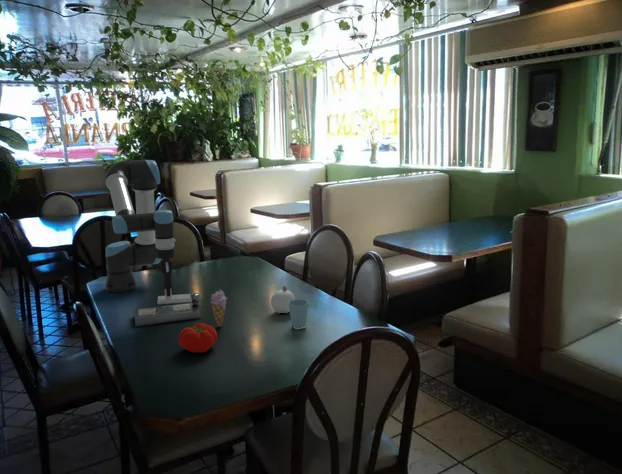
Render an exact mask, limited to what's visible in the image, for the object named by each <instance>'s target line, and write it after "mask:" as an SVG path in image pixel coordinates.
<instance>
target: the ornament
mask: <svg viewBox="0 0 622 474" xmlns="http://www.w3.org/2000/svg"><path fill="white" fill-rule="evenodd" d="M295 299H296V297H295V295H294V293H293V292H292V291H290V290H288V289H287V286H286V285H283V286H282V288H281V289H278V290H276V291H275V292H274V293H273V294H272V296H271V299H270V305H271V308H272V310H273V311H275V312H276V313H278V314H280V313H286V314H289V313H290V309H289V301H291V300H295ZM288 312H289V313H288Z"/></svg>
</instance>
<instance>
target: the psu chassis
mask: <svg viewBox="0 0 622 474" xmlns="http://www.w3.org/2000/svg"><path fill="white" fill-rule="evenodd" d="M201 318H202V312H201V308H200V300H199V301H192V302H186V303H177V304H173V305H172V304H171V305H164V306H153V307H145V308H138V309H134V324H135V327H140V326H149V325H155V324H163V323H171V322H179V321H187V320H193V319H201Z"/></svg>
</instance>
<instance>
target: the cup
mask: <svg viewBox="0 0 622 474" xmlns="http://www.w3.org/2000/svg"><path fill="white" fill-rule="evenodd" d="M308 307H309V301H308V300H306V299H303V298H302V299H301V298H297V299H296V298H295V300H291V301H289V309H290V312H289V315H290V323H291V327H292V326H293V327H295V328H301V327H304V326H306V327H307V319H308V309H309V308H308Z"/></svg>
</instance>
